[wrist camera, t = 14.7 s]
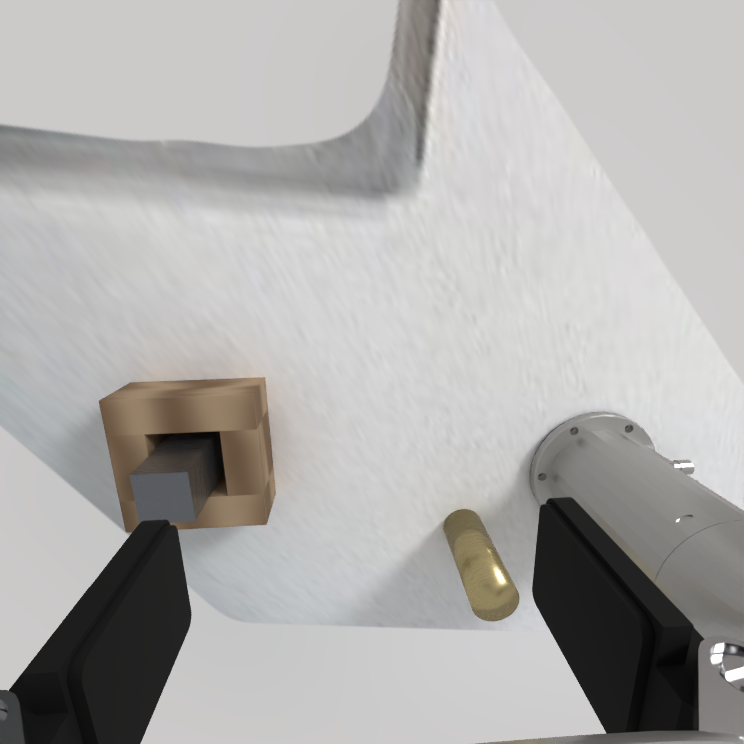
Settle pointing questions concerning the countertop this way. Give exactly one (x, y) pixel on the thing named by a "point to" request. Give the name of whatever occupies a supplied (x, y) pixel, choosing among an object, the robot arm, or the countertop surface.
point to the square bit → (178, 477)
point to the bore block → (196, 414)
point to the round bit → (480, 567)
